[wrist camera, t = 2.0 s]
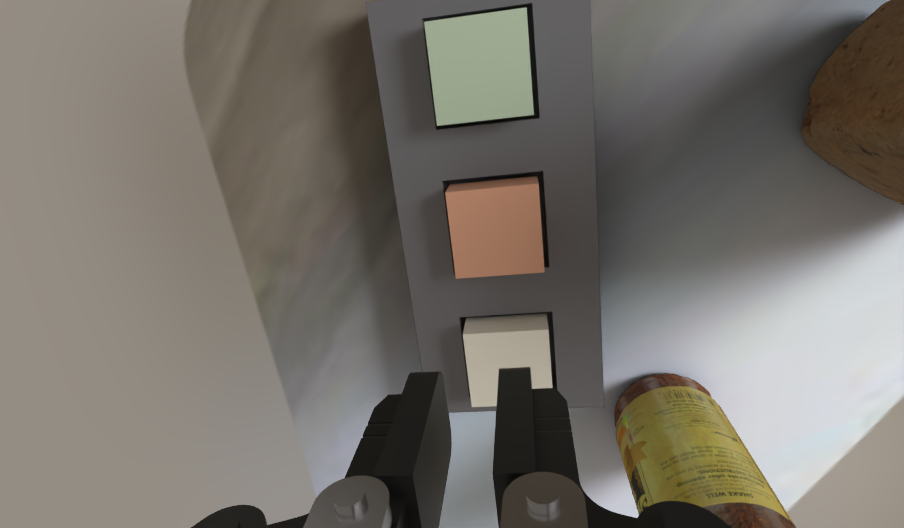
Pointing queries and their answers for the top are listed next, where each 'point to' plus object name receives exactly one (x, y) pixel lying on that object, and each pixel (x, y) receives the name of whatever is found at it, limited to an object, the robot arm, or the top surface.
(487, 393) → the cream button
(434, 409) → the robot arm
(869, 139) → the brown sandstone rock
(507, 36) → the sage button
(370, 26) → the button panel
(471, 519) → the top surface
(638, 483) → the sauce bottle
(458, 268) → the terracotta button
